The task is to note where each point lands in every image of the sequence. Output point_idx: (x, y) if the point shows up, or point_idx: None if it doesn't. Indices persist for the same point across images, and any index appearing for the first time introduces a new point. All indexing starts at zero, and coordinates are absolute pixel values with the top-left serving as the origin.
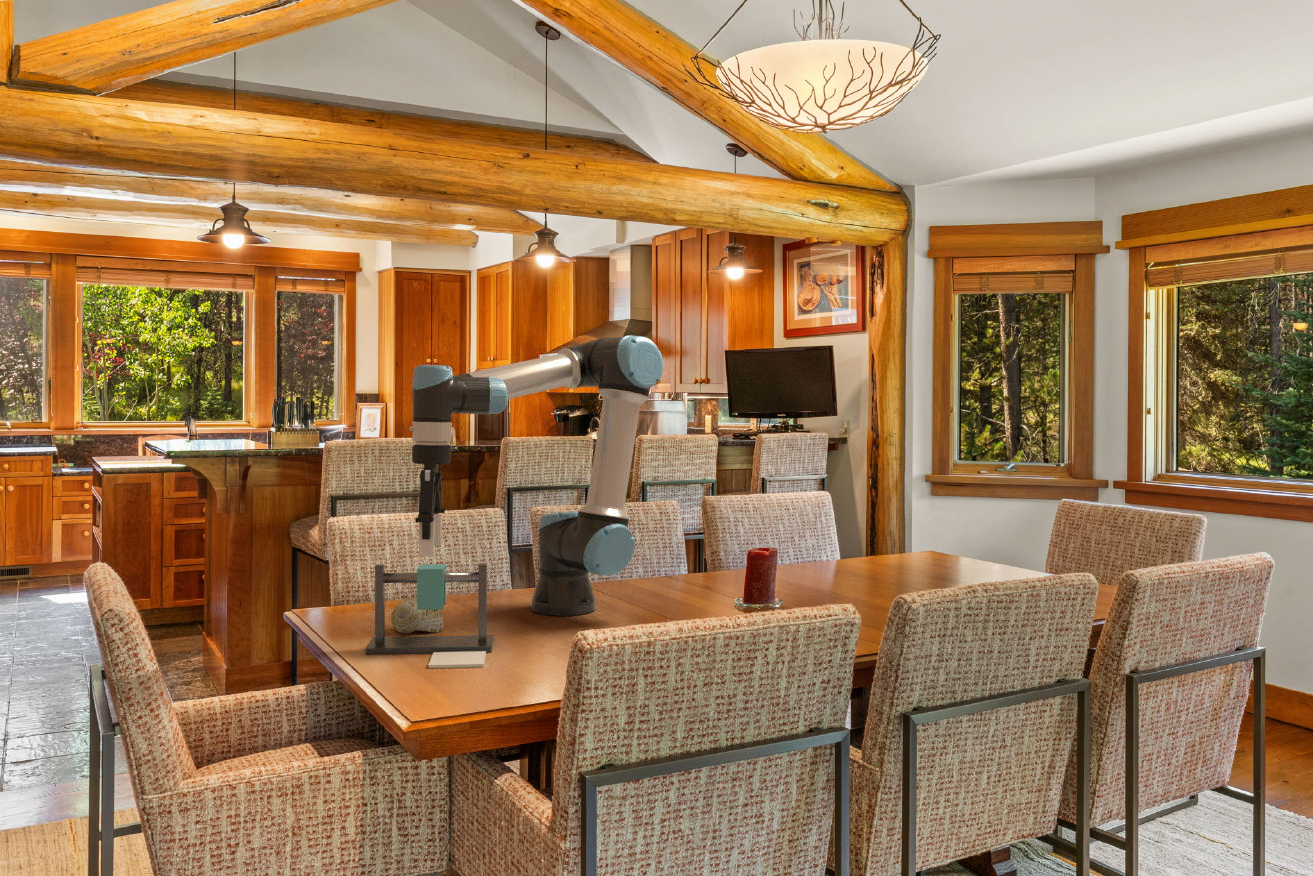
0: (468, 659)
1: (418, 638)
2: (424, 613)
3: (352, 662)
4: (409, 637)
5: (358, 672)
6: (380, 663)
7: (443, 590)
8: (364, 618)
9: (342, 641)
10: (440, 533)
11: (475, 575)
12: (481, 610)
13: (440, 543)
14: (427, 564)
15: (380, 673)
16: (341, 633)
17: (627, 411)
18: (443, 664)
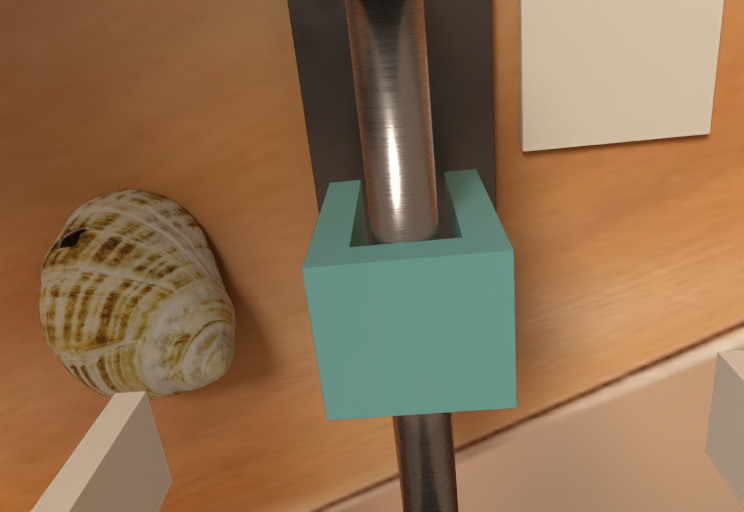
0: None
1: None
2: (175, 278)
3: (586, 381)
4: None
5: (708, 339)
6: (609, 301)
7: (466, 200)
8: (24, 472)
9: (331, 463)
10: (95, 469)
11: (419, 5)
12: None
13: (139, 404)
14: (334, 379)
15: (734, 274)
16: (232, 487)
17: None
18: (711, 76)
